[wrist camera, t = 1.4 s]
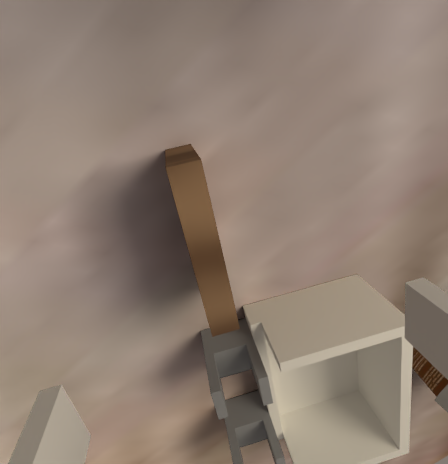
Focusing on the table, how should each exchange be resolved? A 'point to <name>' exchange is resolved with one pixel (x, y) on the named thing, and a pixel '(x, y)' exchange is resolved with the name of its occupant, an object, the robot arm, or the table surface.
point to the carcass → (318, 375)
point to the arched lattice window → (431, 378)
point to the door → (201, 237)
